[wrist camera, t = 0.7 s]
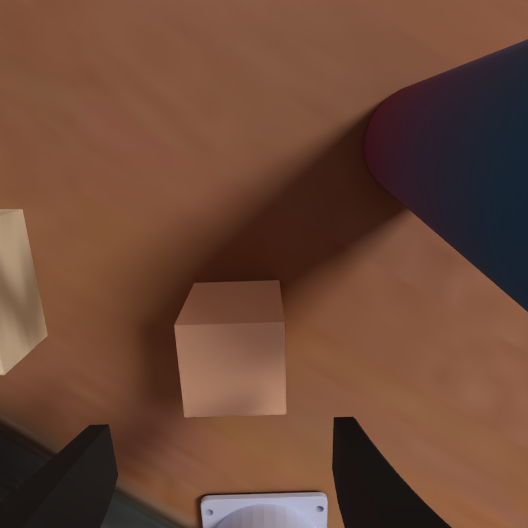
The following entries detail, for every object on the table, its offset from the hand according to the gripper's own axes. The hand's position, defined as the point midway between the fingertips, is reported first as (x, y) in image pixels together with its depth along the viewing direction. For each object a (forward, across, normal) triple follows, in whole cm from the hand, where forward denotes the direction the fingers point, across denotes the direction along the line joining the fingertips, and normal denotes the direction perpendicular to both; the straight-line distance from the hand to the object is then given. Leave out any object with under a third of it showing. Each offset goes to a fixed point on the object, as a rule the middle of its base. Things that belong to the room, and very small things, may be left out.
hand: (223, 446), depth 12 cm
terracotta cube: (+9, 0, 0) cm, 9 cm away
